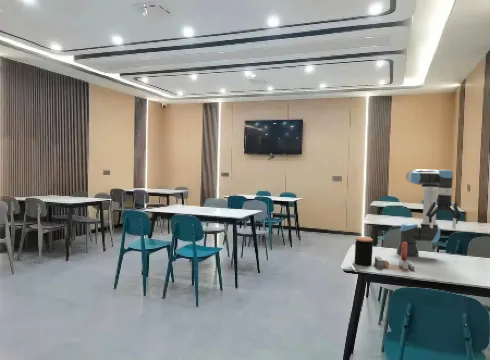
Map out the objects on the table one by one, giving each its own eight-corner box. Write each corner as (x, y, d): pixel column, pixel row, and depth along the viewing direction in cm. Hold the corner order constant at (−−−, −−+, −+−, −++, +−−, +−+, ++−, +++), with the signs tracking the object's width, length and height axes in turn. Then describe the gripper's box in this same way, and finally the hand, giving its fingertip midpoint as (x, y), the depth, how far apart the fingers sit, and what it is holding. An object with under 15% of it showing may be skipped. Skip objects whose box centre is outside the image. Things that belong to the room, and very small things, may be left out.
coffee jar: (373, 265, 238) (374, 238, 238) (368, 269, 229) (370, 241, 229) (357, 262, 244) (358, 236, 244) (352, 266, 235) (353, 238, 235)
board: (373, 265, 238) (373, 255, 238) (408, 268, 236) (408, 258, 235) (377, 271, 226) (378, 260, 225) (414, 273, 223) (415, 263, 222)
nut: (381, 265, 233) (381, 259, 233) (387, 266, 233) (388, 259, 233) (382, 267, 229) (383, 261, 229) (389, 267, 229) (389, 261, 229)
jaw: (398, 265, 234) (399, 240, 234) (403, 265, 234) (405, 241, 233) (402, 269, 225) (404, 243, 225) (408, 269, 225) (409, 243, 224)
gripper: (426, 194, 224) (424, 228, 225) (468, 195, 221) (466, 230, 223) (421, 193, 231) (419, 226, 232) (462, 194, 229) (460, 228, 230)
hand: (442, 228), depth 227 cm, fingers open, 13 cm apart
